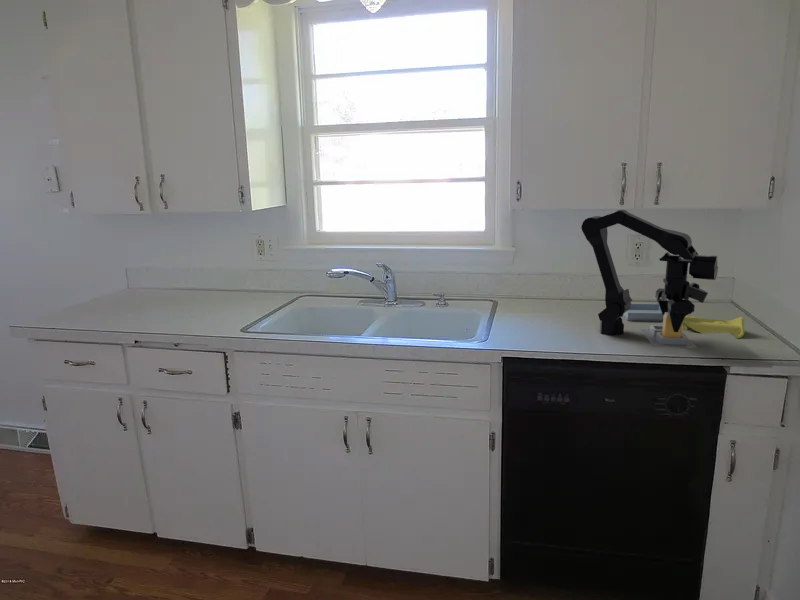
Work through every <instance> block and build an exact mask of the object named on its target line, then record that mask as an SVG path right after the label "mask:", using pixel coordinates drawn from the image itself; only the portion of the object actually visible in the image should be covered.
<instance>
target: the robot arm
mask: <svg viewBox="0 0 800 600" xmlns="http://www.w3.org/2000/svg"><path fill="white" fill-rule="evenodd" d="M615 225H621V226H623V227H625V228H627V229H629V230H631V231H633V232H635V233H637V234H639V235H642V236H644V237H646V238H648V239H650V240H653V242H655V243H657V245H659V246H660V247H661V248H663V249H664V250H665V251H667V252H665V253H664V255H662V256H661V257H659V261H660V262H666V265H665V267H666V268H665V277H664V278H663V280H662V281H663V283H664V288H657V290H655V298H656V301H657V304H659V307H660V309H661V312H662V315H663V316H664V315H665V312H668V314H669V317H670V321H671V324H672V328H673V331H674V332H678V331H679V329H680V326H681V324H682V322H683V320H684V318H685V316H689V315H691V314H692V313H694V312H695V304H694V303H693V302H692V301H690V300H689V299H692V300H696V301H698V302H699V303H704V302H705V300H706V298H707V295H708V294H709V293H708V292H707V291H705V290H704V289H702V288H700V284H698V283H696V282H691V283H690V281H689V280H688V275H689V276H690V277H692V279H698V280H711V281H716V279H717V278H718V277H717V276H718V272H719V270H718V269H719V265H718V256H717V255H699V252H698V251H697V250H696V249H695V247H694V246H693V241H692V238H691V236H690V235H689V234H687V233H685V232H681V231H677V230H673V229H667V228H664V227H661V226H659V225H657V224H654V223H652V222H650V221H648V220H646V219H643V218H641V217H640V216H637V215H634V214H633V213H630V212H629V211H628V210H626V209H618V210H615V211H613V212H612V213H609V214H607V215H606V214H605V215H602V216H601V215H594V216H591V217H587V218H585V219H584V220H583V222H582V224H581V227H580V229H581V232H582V234H583V235H584V237H585V239H586V241H587V242H588V243H589V245H590V246H591V247H592V249H593V252H594V255H595V256H594V257H595V259H596V263H597V266H598V269H599V272H600V276H601V279H602V282H603V285H604V289H605V295H604V302H605V308H604V309H603V310H601V311H600V312H599V313H598V314H597V316H598V318H599V333H600V334H601V335H604V336H605V335H606V336H620V335H624V333H625V332H624V331H625V329H624V328H625V323H624V322H623V318H622V317H624V316H623V315H624V313H625V312H627V311H628V310H629V309H630V307H631V303H632V301H633V299H632V298H631V295H630V289H629V288H626V289H624V288H623V287H622V285H621V284H620V281H619V278H618V273H617V271H616V267H615V264H614V261H613V258H612V254H611V251H610V248H609V245H608V228H609V227H612V226H615Z"/></svg>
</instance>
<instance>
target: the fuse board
mask: <svg viewBox="0 0 800 600" xmlns="http://www.w3.org/2000/svg"><path fill="white" fill-rule="evenodd" d="M662 328H663V324H662V325H661V324H660V325H659V324H658V325H657V324H656V325H655V324H650V325H649V328H639V329H640V331H641V332H642V333H643V334H644V336H645V337H646V338H647V340H648V341H649V342H650V344H651V345H652V347H661V348H662V347H663V348H666V347H667V348H689V349H690V348H691V349H692V348H694V349H696V348H698V347H697V345H696V344H695V343H694V342H692V340H690V338H689V337H688V336H686V335H685V333H683V332H682V331H681V338H675V337H662Z"/></svg>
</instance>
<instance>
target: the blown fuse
mask: <svg viewBox="0 0 800 600" xmlns="http://www.w3.org/2000/svg"><path fill="white" fill-rule="evenodd" d="M662 325H663V328H662V337H675V338H681V332H682V329H683V328H682V324H681V326H680V329H679V331H678V332H674V331H673V328H672V324H671V321H670V317H669V314H668V312H665V315H664V316H663V322H662Z"/></svg>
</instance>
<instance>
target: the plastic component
mask: <svg viewBox="0 0 800 600" xmlns="http://www.w3.org/2000/svg"><path fill="white" fill-rule="evenodd" d="M682 329H683V330H690V331H691V330H693V331H695V332H697V333H701V334H706V333H710V334H711V333H713V334H715V333H717V334H719V333H723V334H725V333H727V334H728V333H729V334H730V335H731V336H732V337H734V338H735V339H741V338H742V337H743V336H744V334H745V320H744V316H740V317H736V318H734V319H731V320H729V319H728V320H725V319H724V320H723V319H712V318H711V319H710V318H700V317H697V316H690V315H687V316H685V318H684V320H683V322H682Z"/></svg>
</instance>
